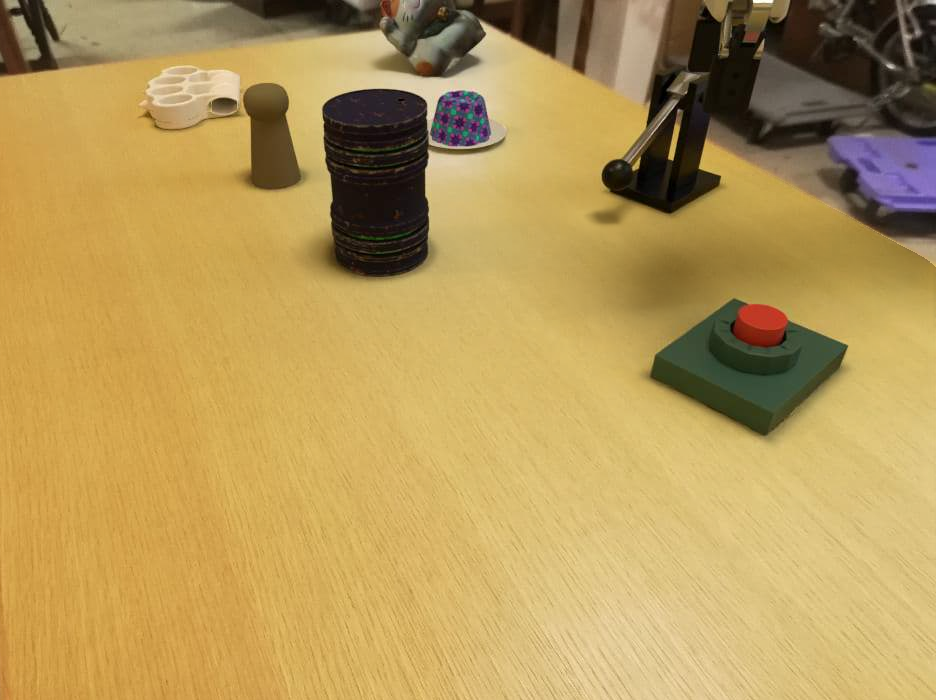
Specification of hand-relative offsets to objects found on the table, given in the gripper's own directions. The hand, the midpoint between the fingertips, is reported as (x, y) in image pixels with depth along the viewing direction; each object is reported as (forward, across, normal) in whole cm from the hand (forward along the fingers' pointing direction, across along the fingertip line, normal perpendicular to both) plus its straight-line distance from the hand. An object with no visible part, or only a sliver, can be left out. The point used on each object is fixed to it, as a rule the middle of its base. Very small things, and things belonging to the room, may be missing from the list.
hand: (714, 90), depth 62 cm
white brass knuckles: (+18, +43, +64) cm, 80 cm away
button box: (+18, -13, -5) cm, 23 cm away
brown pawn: (+18, +20, +45) cm, 52 cm away
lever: (+12, +18, +1) cm, 22 cm away
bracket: (+18, +22, -1) cm, 29 cm away
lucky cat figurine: (+18, +66, +32) cm, 75 cm away
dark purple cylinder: (+18, +4, +28) cm, 34 cm away
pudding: (+18, +35, +24) cm, 46 cm away
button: (+15, -13, -5) cm, 20 cm away
